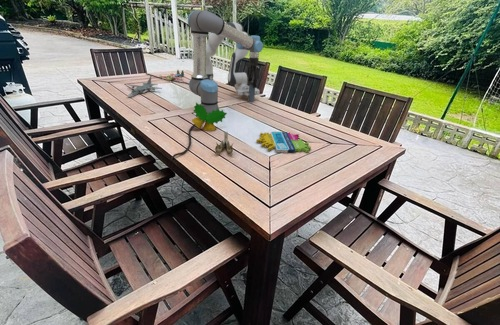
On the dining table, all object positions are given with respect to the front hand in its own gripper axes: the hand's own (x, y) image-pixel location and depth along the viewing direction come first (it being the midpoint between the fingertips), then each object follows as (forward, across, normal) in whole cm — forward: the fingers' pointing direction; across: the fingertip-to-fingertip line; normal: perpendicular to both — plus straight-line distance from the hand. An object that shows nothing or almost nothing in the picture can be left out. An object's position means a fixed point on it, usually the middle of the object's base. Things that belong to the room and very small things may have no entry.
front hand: (252, 86), depth 217 cm
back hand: (+6, -1, 0) cm, 6 cm away
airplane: (+12, +63, +71) cm, 95 cm away
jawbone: (+12, -69, +70) cm, 99 cm away
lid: (-4, 0, 0) cm, 4 cm away
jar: (+12, 0, 0) cm, 12 cm away
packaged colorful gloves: (+12, -76, +35) cm, 85 cm away
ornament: (+12, -37, +61) cm, 73 cm away
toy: (+12, +104, +25) cm, 107 cm away
